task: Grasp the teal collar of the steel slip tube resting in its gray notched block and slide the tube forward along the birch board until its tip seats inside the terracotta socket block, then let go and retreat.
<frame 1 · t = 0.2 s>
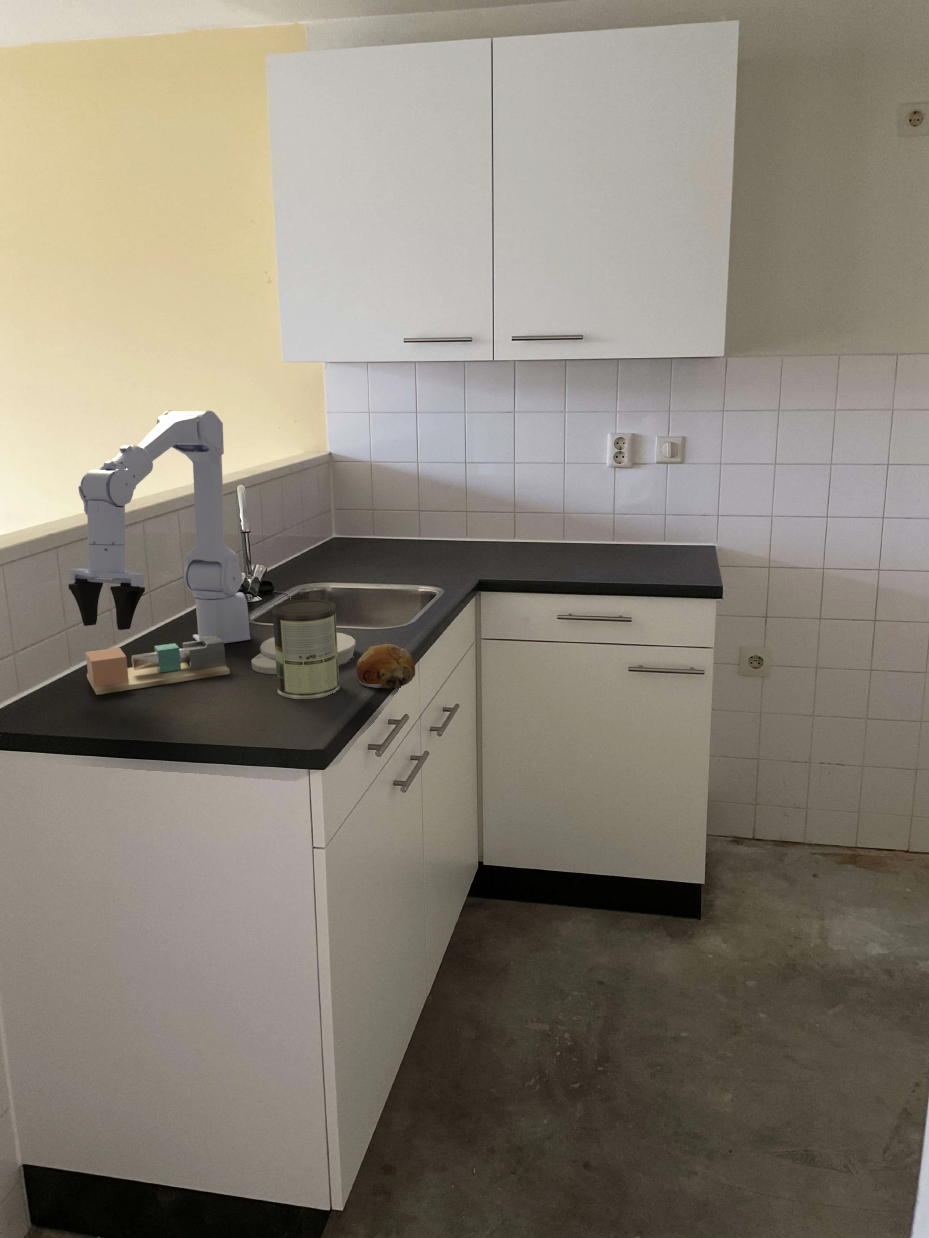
hand: (106, 627, 162), 10 cm above the counter, tool pointing down, fingers open, 7 cm apart
tube: (177, 656, 171), point 3 cm above the counter, slide at 0.0 cm
gray notched block: (205, 669, 174), resting on board
lid: (303, 661, 179), on the counter
board: (158, 676, 170), on the counter
coffee can: (308, 690, 162), on the counter
bread roll: (386, 682, 167), on the counter
socket: (108, 683, 166), resting on board
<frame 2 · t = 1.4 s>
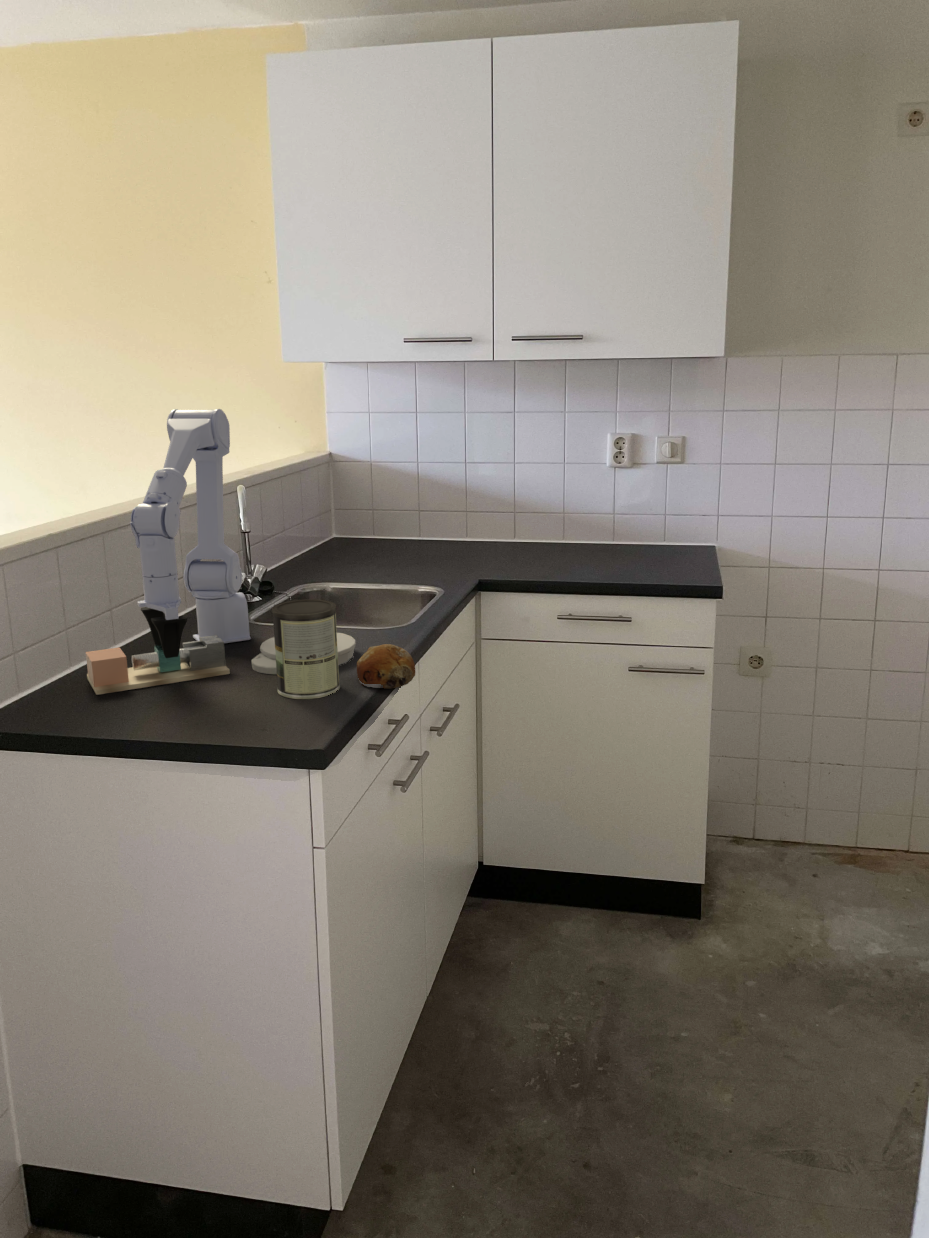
hand: (166, 651, 170), 4 cm above the counter, tool pointing down, fingers open, 7 cm apart
nothing on the counter moved.
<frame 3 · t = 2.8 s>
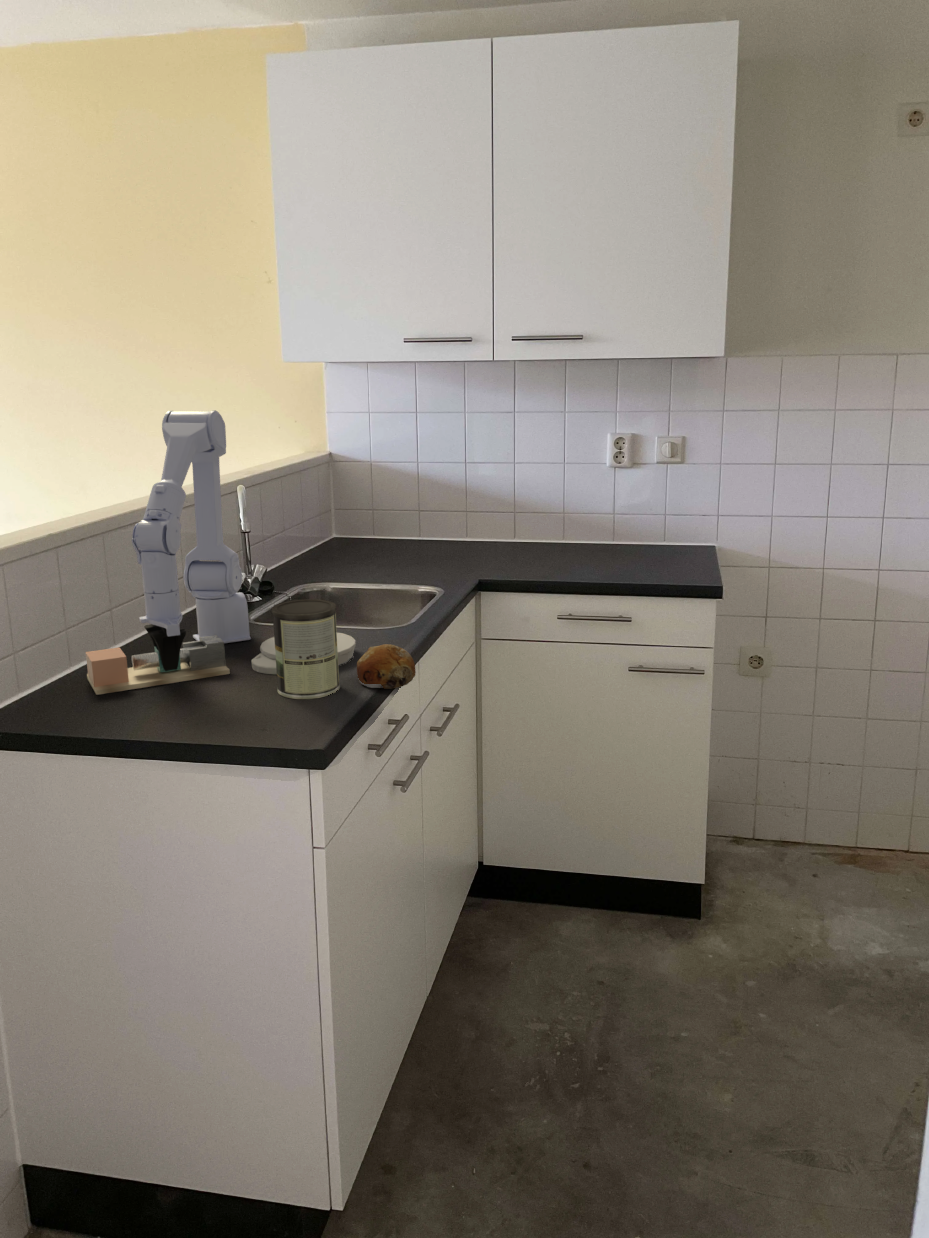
hand: (168, 666, 171), 1 cm above the counter, tool pointing down, fingers closed on tube, 3 cm apart
tube: (177, 656, 171), point 3 cm above the counter, slide at 0.0 cm, touching gripper
everything else where it was.
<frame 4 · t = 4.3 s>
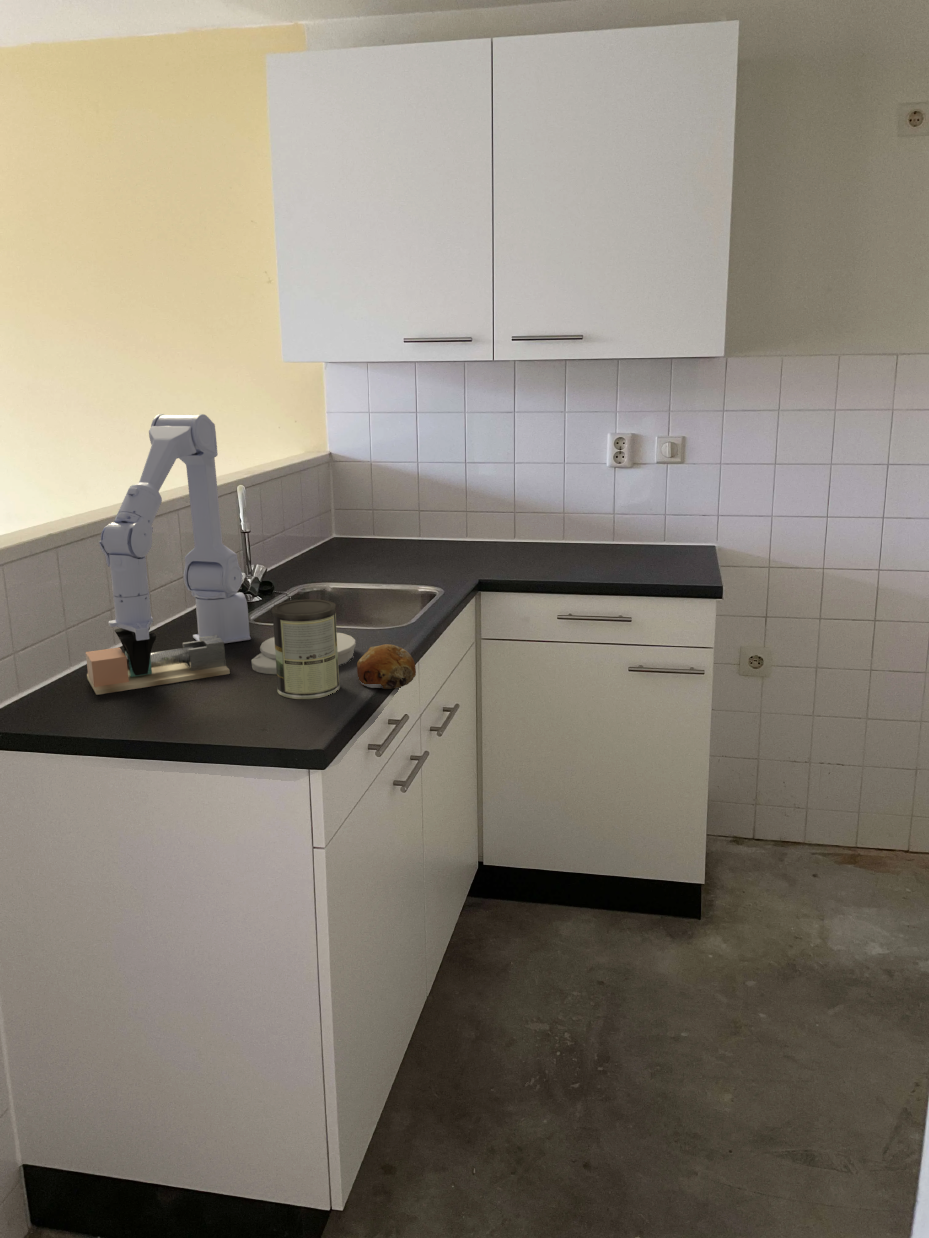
hand: (138, 671, 168), 1 cm above the counter, tool pointing down, fingers closed on tube, 3 cm apart
tube: (149, 660, 169), point 3 cm above the counter, slide at 4.9 cm, touching gripper
everything else where it was.
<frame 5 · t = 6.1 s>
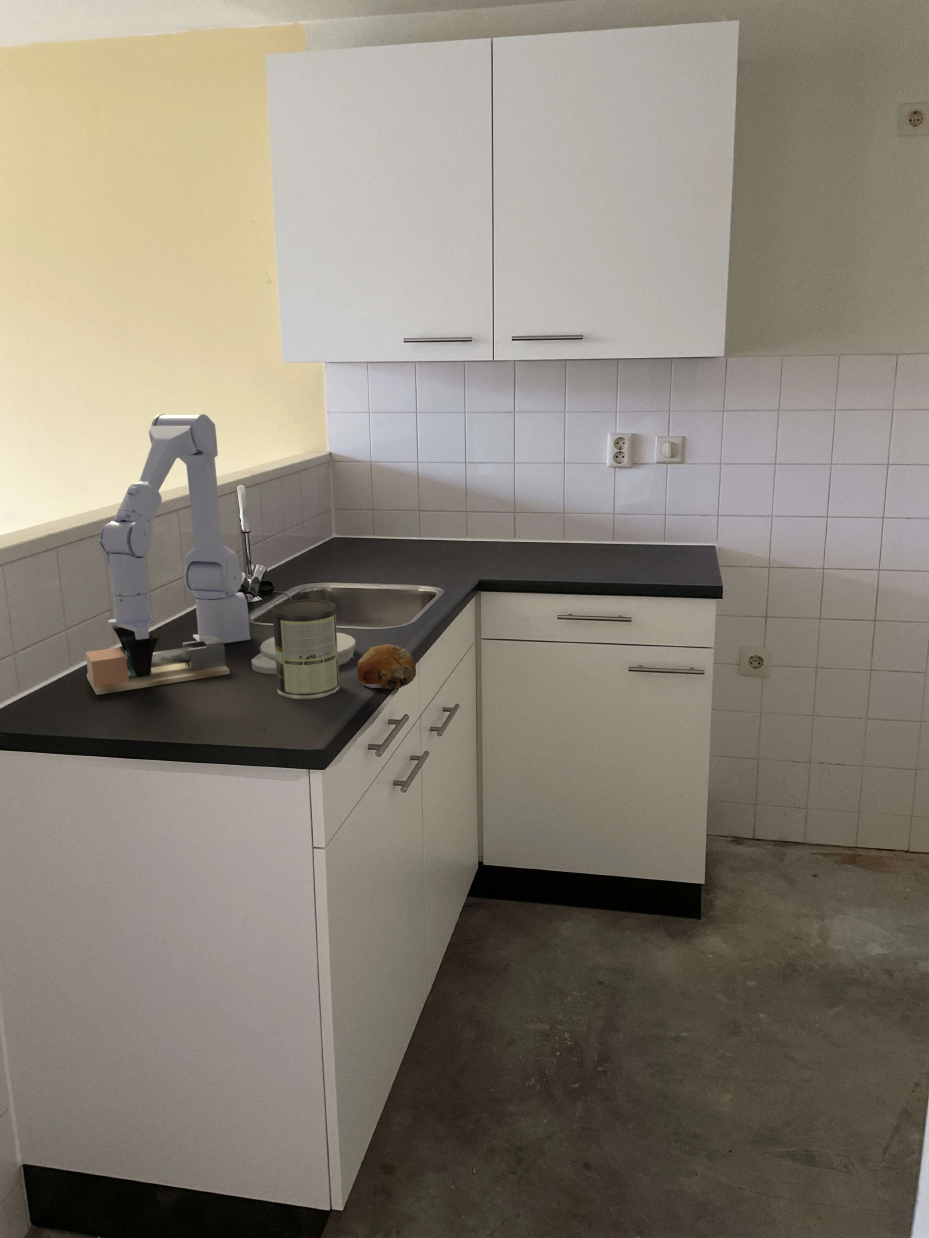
hand: (138, 670, 168), 2 cm above the counter, tool pointing down, fingers open, 7 cm apart
tube: (148, 660, 169), point 3 cm above the counter, slide at 4.9 cm
everything else where it was.
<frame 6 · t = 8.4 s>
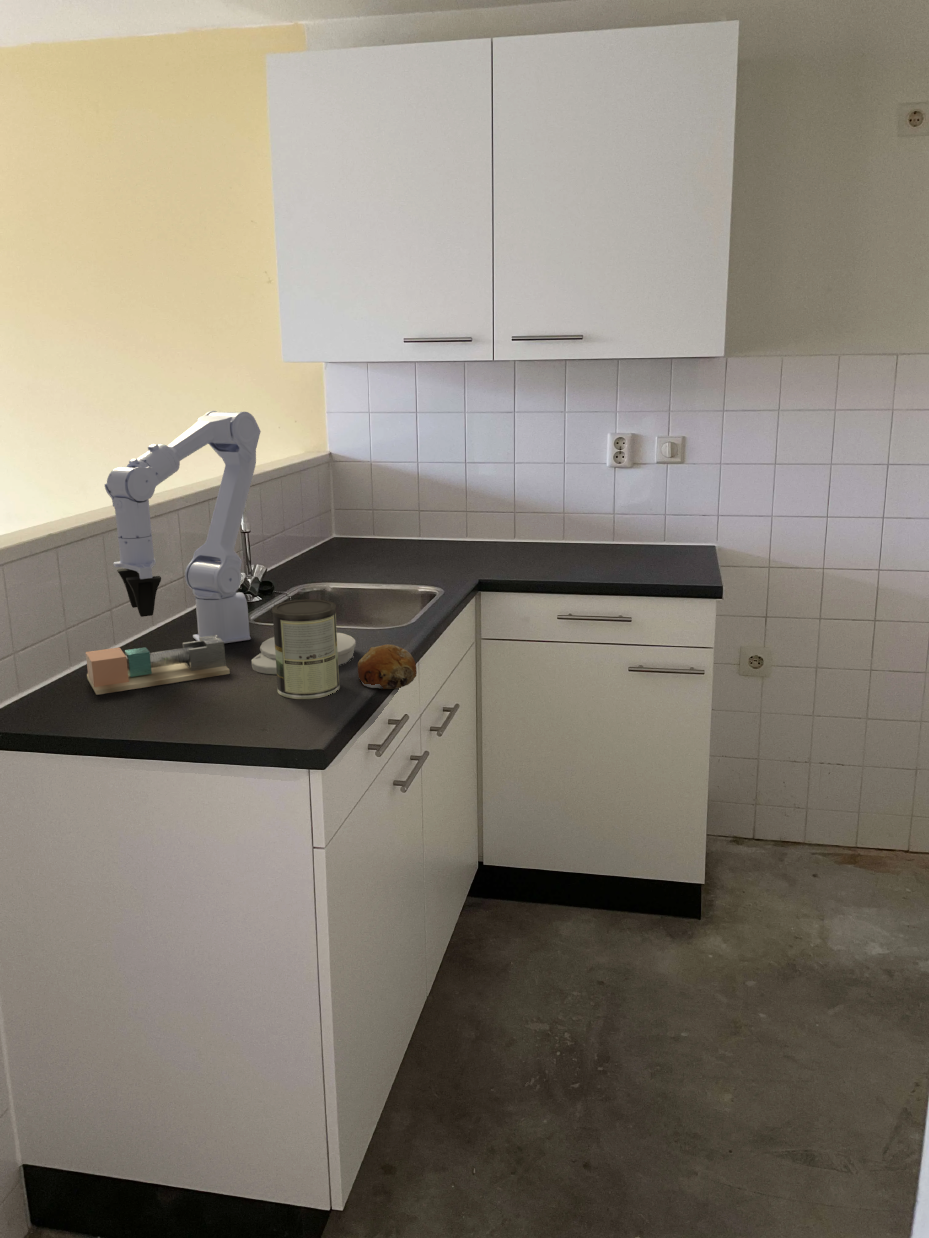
hand: (142, 611, 176), 9 cm above the counter, tool pointing down, fingers open, 7 cm apart
nothing on the counter moved.
at the end: tube slide at 4.9 cm; the gripper is holding nothing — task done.
